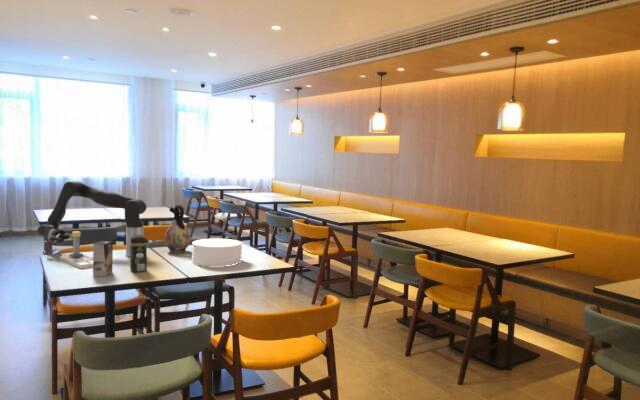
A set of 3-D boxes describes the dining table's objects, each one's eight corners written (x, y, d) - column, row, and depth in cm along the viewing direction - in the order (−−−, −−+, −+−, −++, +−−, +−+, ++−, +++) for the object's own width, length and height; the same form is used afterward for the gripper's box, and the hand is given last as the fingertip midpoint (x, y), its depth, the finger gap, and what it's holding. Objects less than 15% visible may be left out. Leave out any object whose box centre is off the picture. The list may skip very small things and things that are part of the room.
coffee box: (106, 276, 230) (106, 244, 229) (92, 276, 230) (92, 243, 229) (112, 272, 240) (113, 240, 238) (99, 271, 239) (99, 240, 238)
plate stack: (248, 265, 269) (249, 245, 268) (200, 269, 254) (200, 248, 253) (231, 255, 293) (231, 237, 292) (186, 258, 278) (186, 239, 277)
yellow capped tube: (69, 256, 260) (69, 231, 258) (80, 255, 264) (80, 230, 263) (72, 257, 257) (72, 232, 256) (83, 256, 261) (83, 231, 260)
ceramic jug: (159, 251, 295) (160, 203, 293) (180, 248, 307) (181, 202, 304) (174, 255, 284) (175, 206, 282) (196, 252, 296) (197, 205, 293)
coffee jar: (129, 268, 248) (129, 233, 246) (145, 267, 252) (145, 233, 250) (130, 273, 239) (131, 236, 238) (147, 272, 243) (147, 236, 241)
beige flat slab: (60, 259, 262) (60, 255, 262) (80, 257, 270) (80, 253, 270) (80, 268, 243) (80, 264, 243) (102, 266, 251) (102, 261, 251)
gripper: (44, 229, 272) (54, 233, 261) (70, 228, 283) (81, 231, 272) (44, 242, 273) (54, 247, 262) (70, 240, 283) (81, 244, 273)
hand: (68, 239), depth 267 cm, fingers open, 8 cm apart
